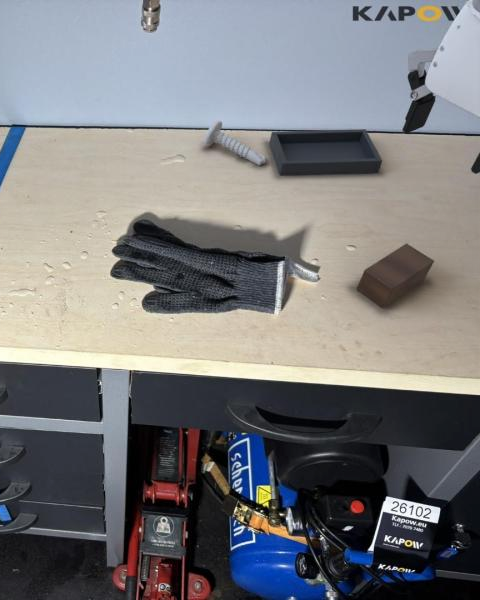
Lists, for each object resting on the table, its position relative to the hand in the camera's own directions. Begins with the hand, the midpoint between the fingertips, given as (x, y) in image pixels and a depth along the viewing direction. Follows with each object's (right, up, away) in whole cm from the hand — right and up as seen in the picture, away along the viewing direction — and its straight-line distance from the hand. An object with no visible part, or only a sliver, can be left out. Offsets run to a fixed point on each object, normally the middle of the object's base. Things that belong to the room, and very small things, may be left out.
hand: (445, 148), depth 72 cm
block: (+1, -16, +14) cm, 22 cm away
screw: (-16, +8, +37) cm, 41 cm away
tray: (-1, +7, +35) cm, 36 cm away
